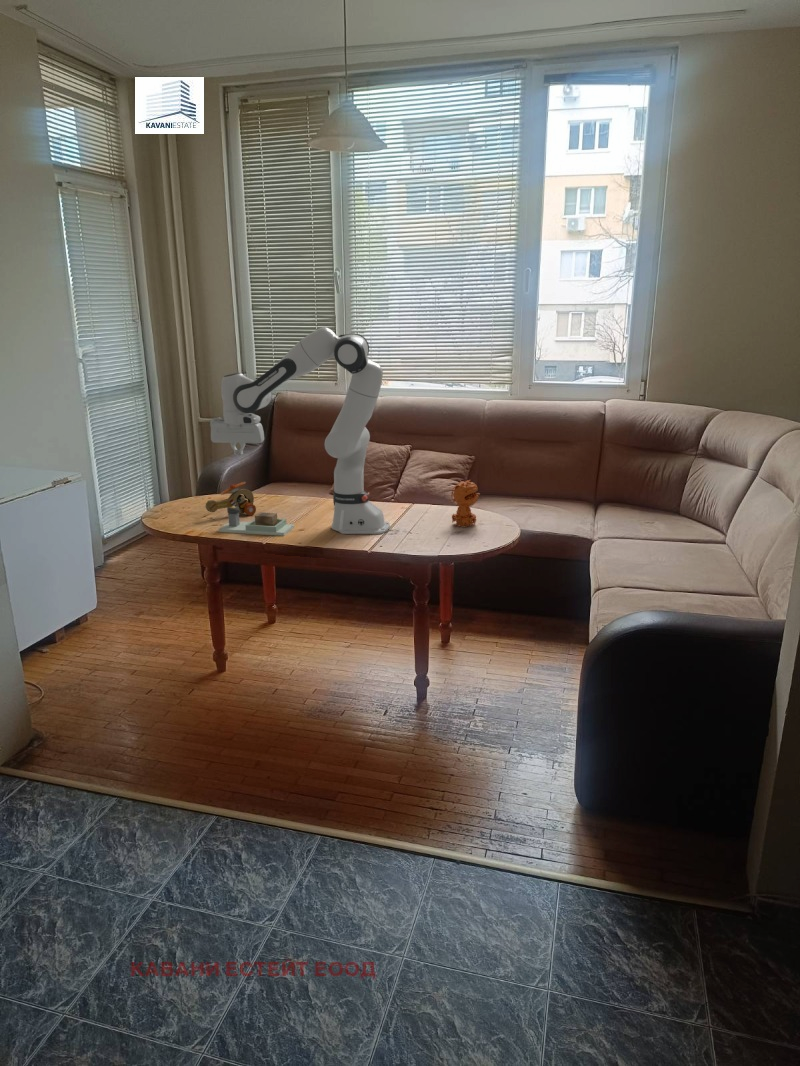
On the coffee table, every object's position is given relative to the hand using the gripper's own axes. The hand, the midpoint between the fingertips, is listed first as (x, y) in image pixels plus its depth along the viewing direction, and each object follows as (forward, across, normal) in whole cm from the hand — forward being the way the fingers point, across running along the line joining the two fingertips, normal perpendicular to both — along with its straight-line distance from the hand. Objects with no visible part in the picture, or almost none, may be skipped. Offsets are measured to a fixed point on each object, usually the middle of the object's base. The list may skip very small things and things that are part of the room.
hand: (238, 454), depth 270 cm
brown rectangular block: (+27, +11, -5) cm, 29 cm away
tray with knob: (+28, +7, -5) cm, 29 cm away
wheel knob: (+25, -2, -5) cm, 25 cm away
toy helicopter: (+28, -10, +12) cm, 32 cm away
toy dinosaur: (+29, +84, +16) cm, 91 cm away
